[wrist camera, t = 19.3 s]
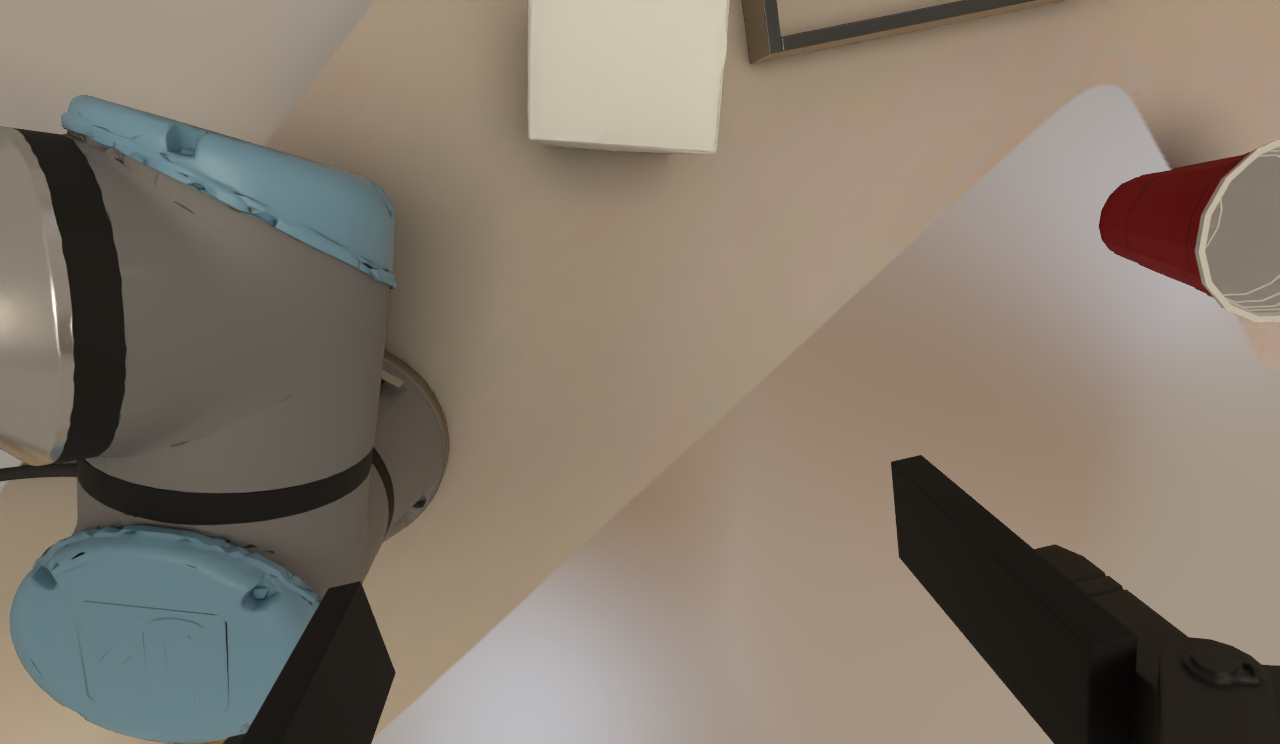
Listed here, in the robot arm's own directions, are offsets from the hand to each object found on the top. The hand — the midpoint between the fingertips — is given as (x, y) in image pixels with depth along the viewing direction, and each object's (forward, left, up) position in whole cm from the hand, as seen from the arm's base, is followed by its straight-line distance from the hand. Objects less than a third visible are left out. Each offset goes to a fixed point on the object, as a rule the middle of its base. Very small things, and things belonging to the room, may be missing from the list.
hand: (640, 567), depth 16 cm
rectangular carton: (+4, +14, -33) cm, 36 cm away
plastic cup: (+40, -2, -33) cm, 52 cm away
